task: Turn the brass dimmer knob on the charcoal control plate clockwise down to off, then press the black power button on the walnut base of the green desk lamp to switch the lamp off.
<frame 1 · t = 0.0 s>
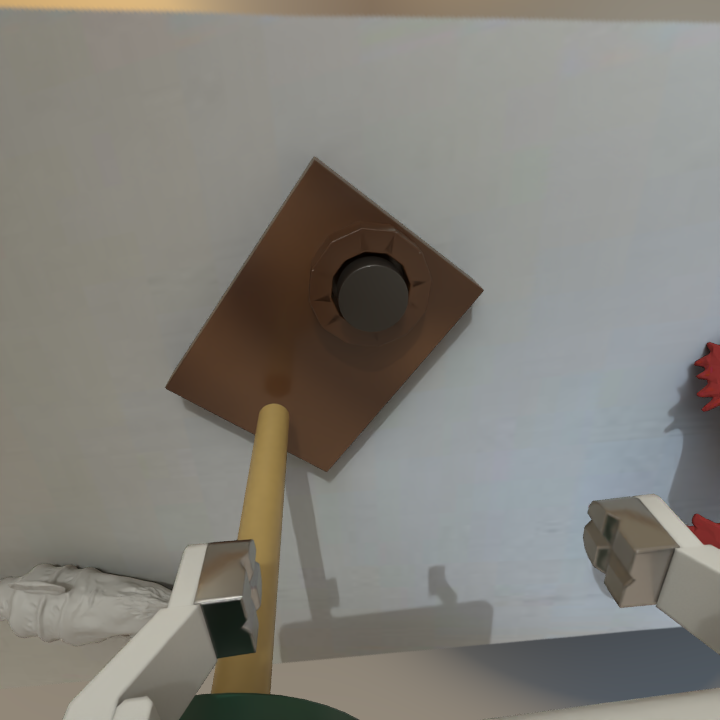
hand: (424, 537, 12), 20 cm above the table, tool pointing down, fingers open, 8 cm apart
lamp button: (371, 294, 26), point 4 cm above the table, slide at 0.1 cm
lamp: (278, 382, 32), resting on lamp base
seahorse: (84, 583, 39), on the table
lamp base: (321, 326, 31), on the table
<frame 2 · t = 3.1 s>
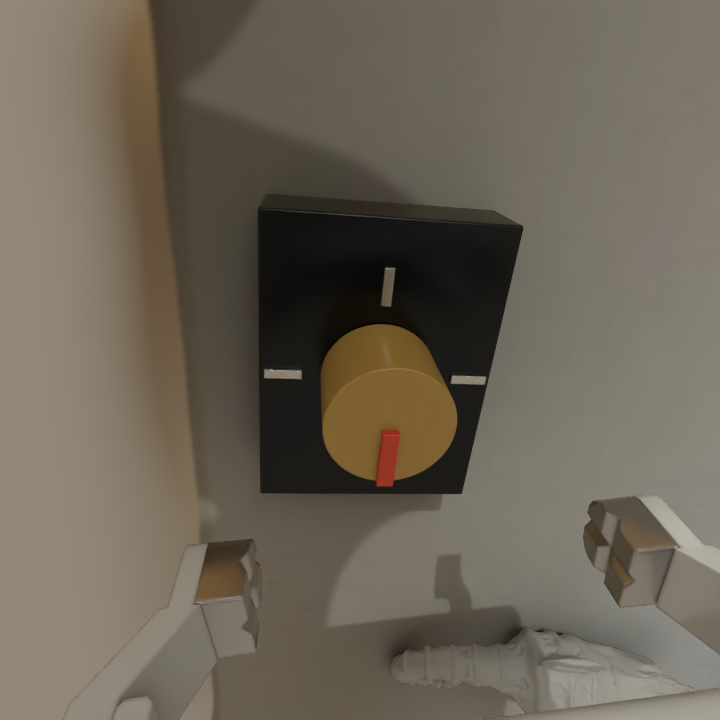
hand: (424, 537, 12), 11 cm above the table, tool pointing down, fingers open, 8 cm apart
dimmer knob: (384, 402, 17), point 5 cm above the table, hinge at 0.0°
dimmer: (369, 342, 21), on the table
seahorse: (531, 647, 33), on the table
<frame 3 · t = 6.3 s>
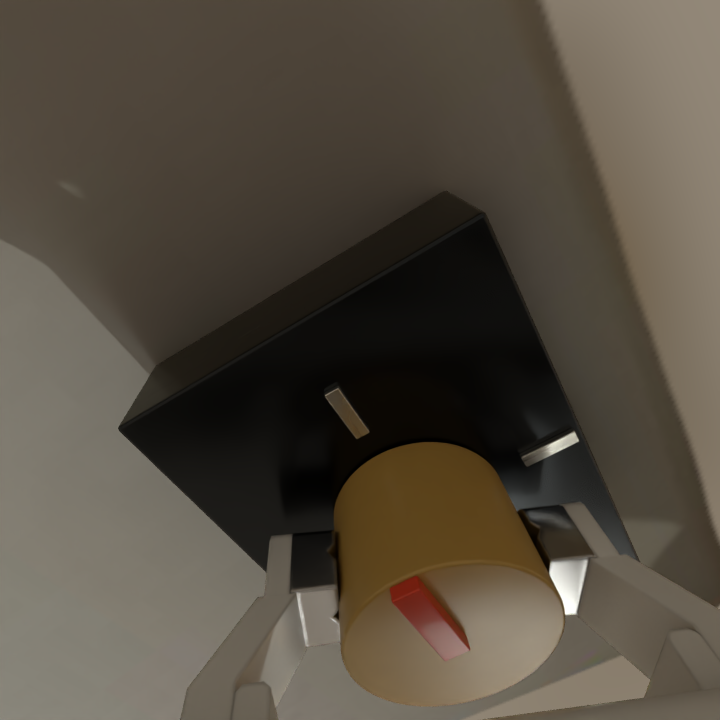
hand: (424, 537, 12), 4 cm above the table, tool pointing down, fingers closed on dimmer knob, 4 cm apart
dimmer knob: (436, 572, 11), point 5 cm above the table, hinge at 0.4°, touching gripper
dimmer: (399, 439, 15), on the table
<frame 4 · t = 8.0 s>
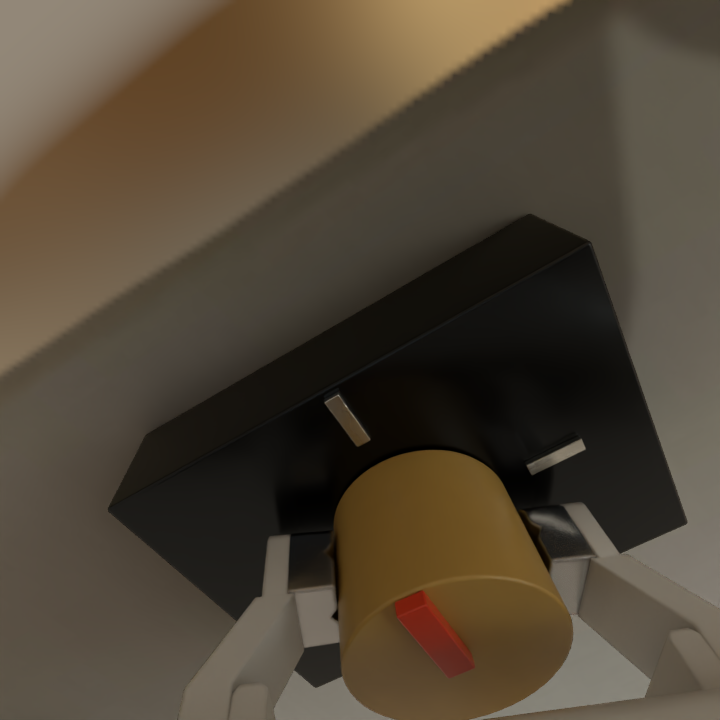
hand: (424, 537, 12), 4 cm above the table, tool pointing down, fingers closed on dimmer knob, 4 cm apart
dimmer knob: (438, 585, 10), point 5 cm above the table, hinge at -91.2°, touching gripper
dimmer: (401, 445, 15), on the table
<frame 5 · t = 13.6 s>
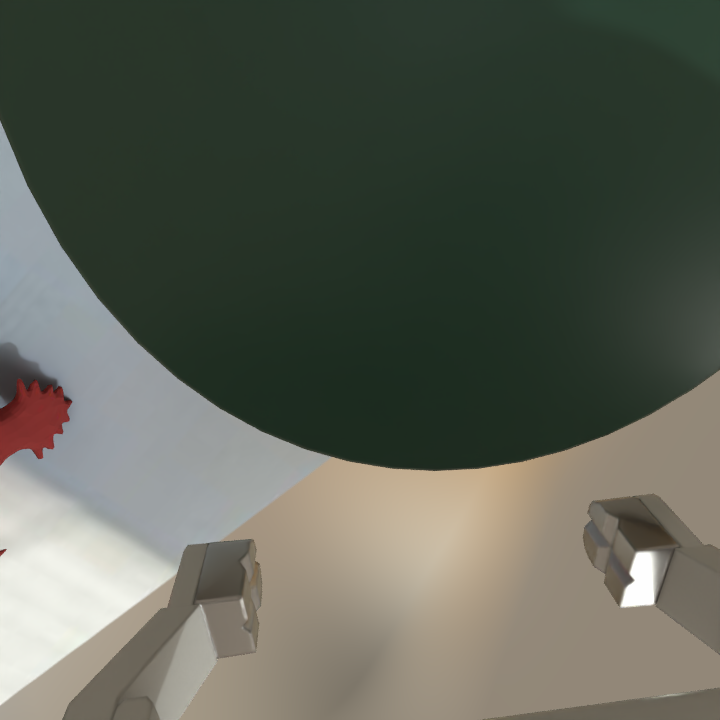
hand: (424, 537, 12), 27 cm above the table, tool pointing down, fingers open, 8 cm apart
lamp: (340, 109, 31), resting on lamp base
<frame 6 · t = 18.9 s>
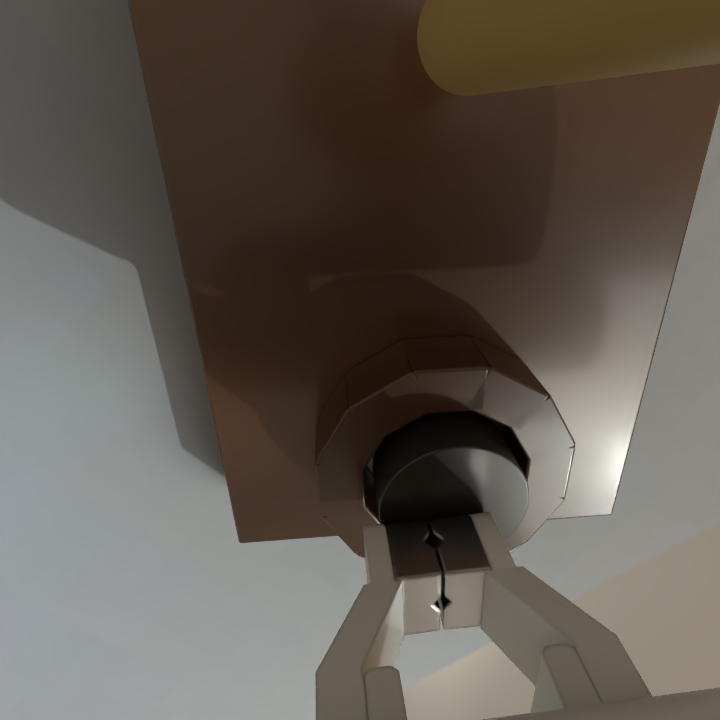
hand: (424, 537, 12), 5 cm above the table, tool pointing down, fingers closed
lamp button: (446, 483, 12), point 4 cm above the table, slide at -0.3 cm, touching gripper
lamp: (425, 58, 12), resting on lamp base
lamp base: (421, 264, 14), on the table
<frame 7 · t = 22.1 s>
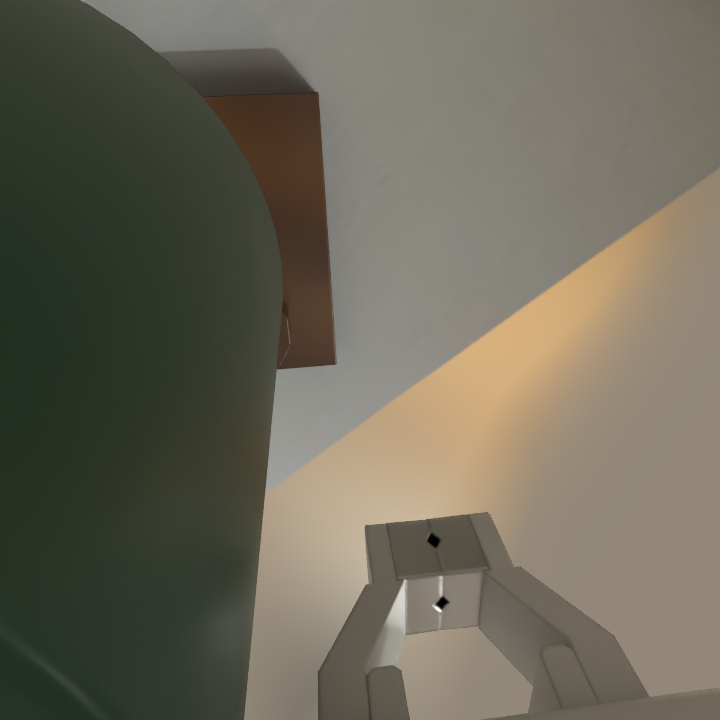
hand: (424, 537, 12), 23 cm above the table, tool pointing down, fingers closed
lamp: (216, 156, 28), resting on lamp base
lamp base: (230, 243, 30), on the table
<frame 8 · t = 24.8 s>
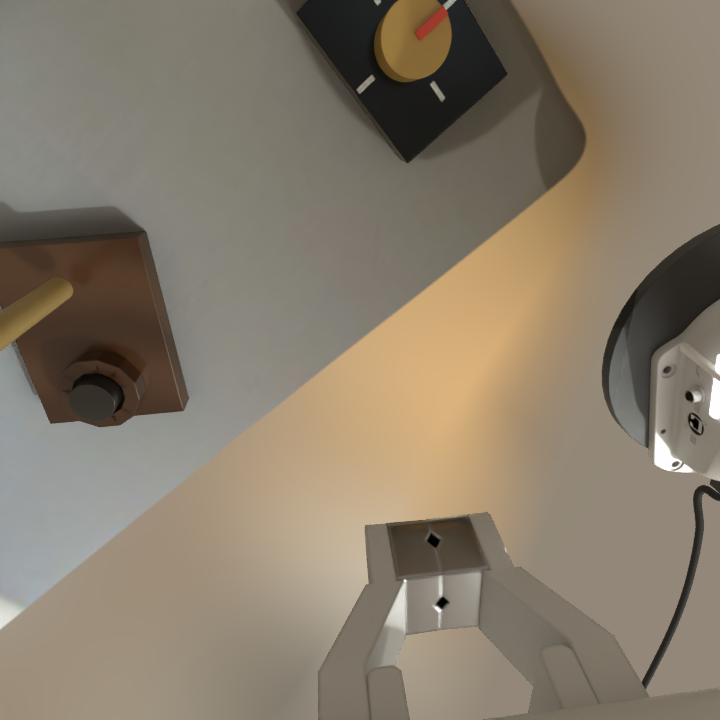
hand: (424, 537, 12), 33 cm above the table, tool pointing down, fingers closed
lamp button: (96, 398, 41), point 4 cm above the table, slide at 0.1 cm
dimmer knob: (411, 41, 31), point 5 cm above the table, hinge at -91.0°
lamp: (82, 273, 41), resting on lamp base
dimmer: (399, 50, 36), on the table
lamp base: (100, 328, 43), on the table
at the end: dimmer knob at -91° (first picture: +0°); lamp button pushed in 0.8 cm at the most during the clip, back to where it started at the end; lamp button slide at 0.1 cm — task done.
